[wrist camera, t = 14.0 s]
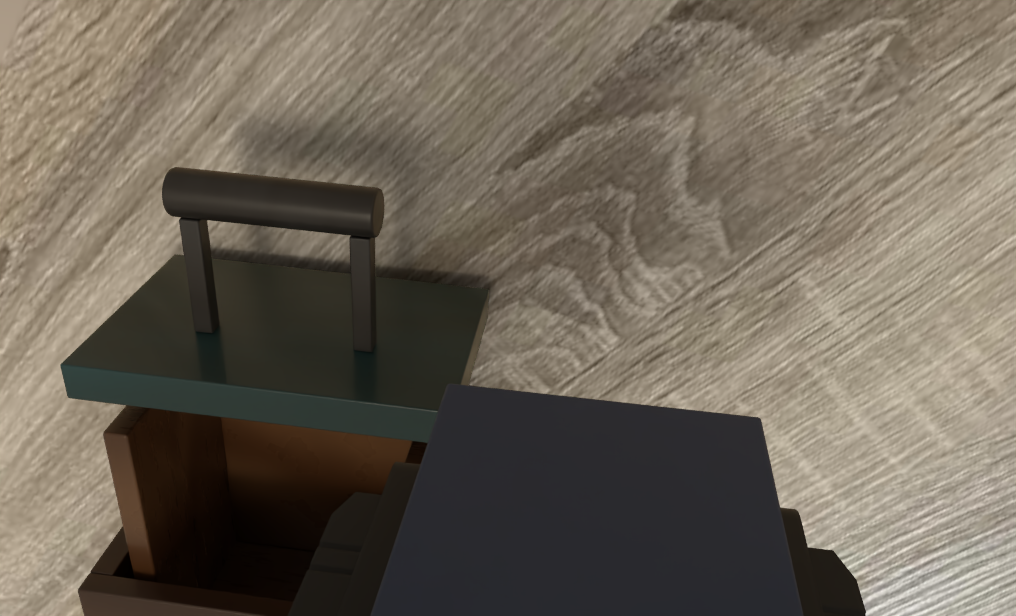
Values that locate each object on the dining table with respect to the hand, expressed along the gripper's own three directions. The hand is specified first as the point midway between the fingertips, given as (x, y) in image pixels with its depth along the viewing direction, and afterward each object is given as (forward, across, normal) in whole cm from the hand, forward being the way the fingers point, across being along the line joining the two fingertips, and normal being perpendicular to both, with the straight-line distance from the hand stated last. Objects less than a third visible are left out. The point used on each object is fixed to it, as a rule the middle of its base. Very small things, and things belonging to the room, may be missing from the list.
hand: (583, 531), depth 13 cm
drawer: (+17, +9, +9) cm, 21 cm away
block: (0, 0, 0) cm, 0 cm away
